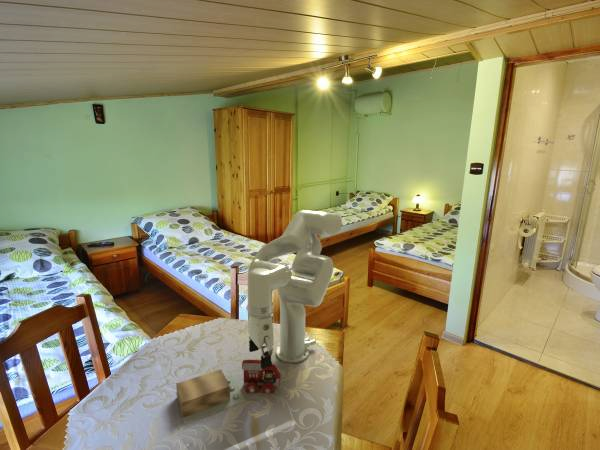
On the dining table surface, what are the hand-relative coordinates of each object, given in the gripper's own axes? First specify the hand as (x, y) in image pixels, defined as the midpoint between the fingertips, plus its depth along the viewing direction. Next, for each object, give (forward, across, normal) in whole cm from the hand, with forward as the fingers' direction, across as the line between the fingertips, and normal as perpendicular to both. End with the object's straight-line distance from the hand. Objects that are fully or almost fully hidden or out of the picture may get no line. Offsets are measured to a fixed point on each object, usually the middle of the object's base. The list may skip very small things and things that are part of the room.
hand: (259, 358), depth 103 cm
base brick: (+11, +4, +17) cm, 21 cm away
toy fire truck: (+12, +1, -1) cm, 12 cm away
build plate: (+12, +4, +15) cm, 20 cm away
